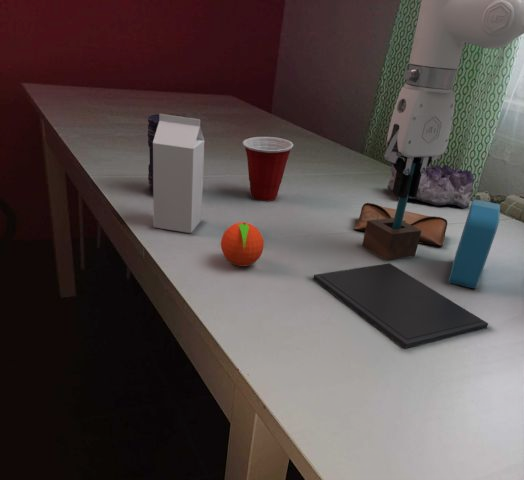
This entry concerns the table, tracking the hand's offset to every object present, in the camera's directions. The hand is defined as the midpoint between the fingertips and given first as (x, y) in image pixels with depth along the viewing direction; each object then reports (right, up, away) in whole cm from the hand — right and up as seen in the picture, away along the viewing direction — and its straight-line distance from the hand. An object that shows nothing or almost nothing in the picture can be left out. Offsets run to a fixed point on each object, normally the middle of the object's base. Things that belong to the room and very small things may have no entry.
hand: (404, 194), depth 95 cm
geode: (+16, +10, +38) cm, 42 cm away
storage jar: (-45, +7, +23) cm, 51 cm away
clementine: (-28, -14, -6) cm, 32 cm away
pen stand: (-1, -9, +6) cm, 11 cm away
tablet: (-4, -20, -12) cm, 24 cm away
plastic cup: (-25, +7, +26) cm, 37 cm away
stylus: (-1, -6, +4) cm, 8 cm away
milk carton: (-41, -4, +6) cm, 41 cm away
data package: (+10, -14, 0) cm, 18 cm away
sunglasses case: (+3, -4, +15) cm, 16 cm away
